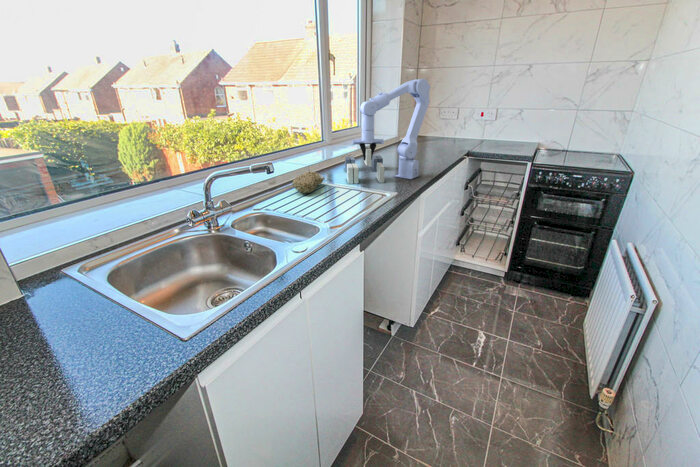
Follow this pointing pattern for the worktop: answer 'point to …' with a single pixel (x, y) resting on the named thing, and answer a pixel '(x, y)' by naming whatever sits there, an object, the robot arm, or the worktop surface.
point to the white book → (368, 156)
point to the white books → (354, 173)
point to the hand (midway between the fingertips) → (367, 159)
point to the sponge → (307, 182)
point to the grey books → (373, 162)
